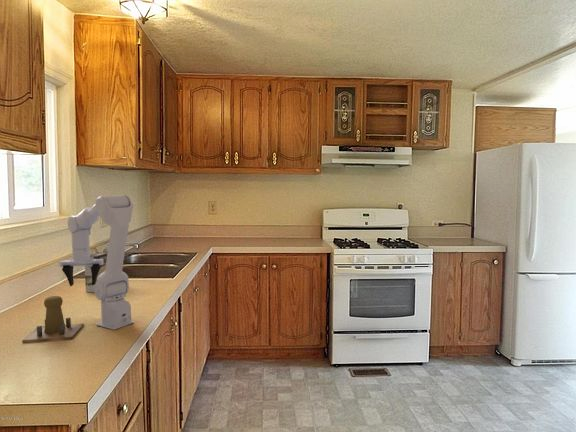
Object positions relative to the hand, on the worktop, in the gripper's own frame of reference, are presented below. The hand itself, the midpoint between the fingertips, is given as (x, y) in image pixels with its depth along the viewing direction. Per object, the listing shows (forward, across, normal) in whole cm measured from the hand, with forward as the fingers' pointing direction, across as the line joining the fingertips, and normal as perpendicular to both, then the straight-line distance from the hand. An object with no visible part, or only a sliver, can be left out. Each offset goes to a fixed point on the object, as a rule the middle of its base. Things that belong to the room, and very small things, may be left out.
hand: (82, 284), depth 153 cm
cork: (+10, +3, +20) cm, 22 cm away
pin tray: (+10, +3, +21) cm, 24 cm away
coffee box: (+11, +3, -32) cm, 34 cm away
